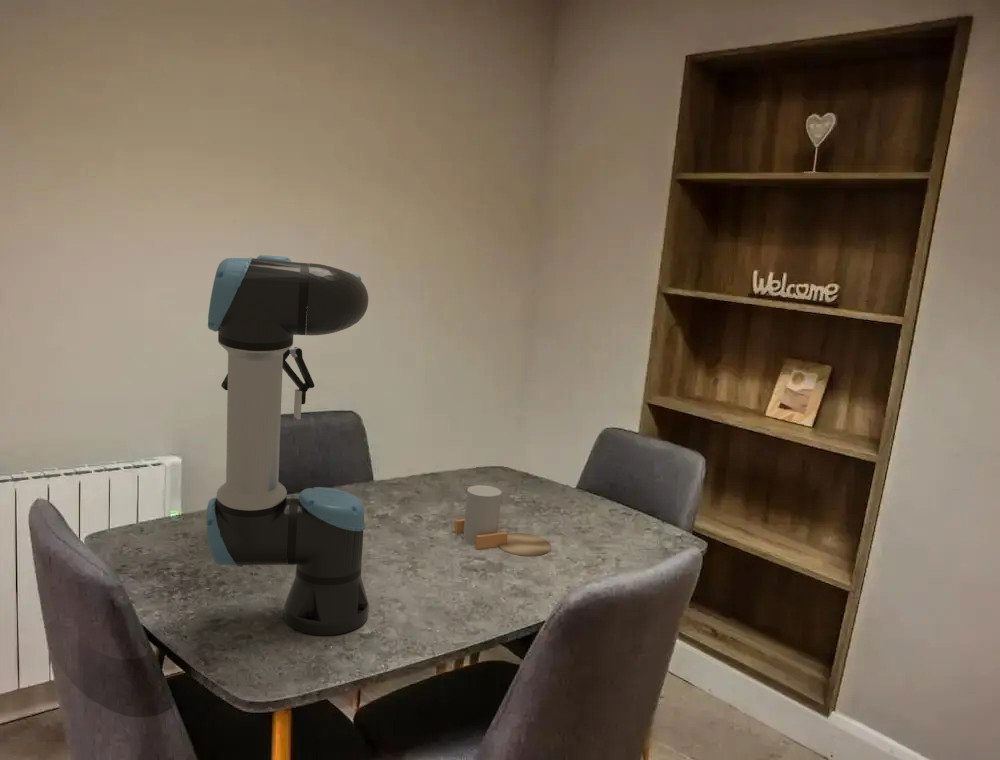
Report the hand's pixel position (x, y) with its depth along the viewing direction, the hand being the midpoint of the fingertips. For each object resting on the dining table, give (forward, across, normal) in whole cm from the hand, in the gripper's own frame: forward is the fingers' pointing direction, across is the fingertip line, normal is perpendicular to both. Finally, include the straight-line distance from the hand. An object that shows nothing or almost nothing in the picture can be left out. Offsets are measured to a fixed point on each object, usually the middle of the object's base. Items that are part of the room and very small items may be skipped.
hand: (267, 419), depth 176 cm
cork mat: (+26, -53, +30) cm, 66 cm away
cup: (+26, -45, +22) cm, 57 cm away
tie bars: (+26, -45, +22) cm, 57 cm away
